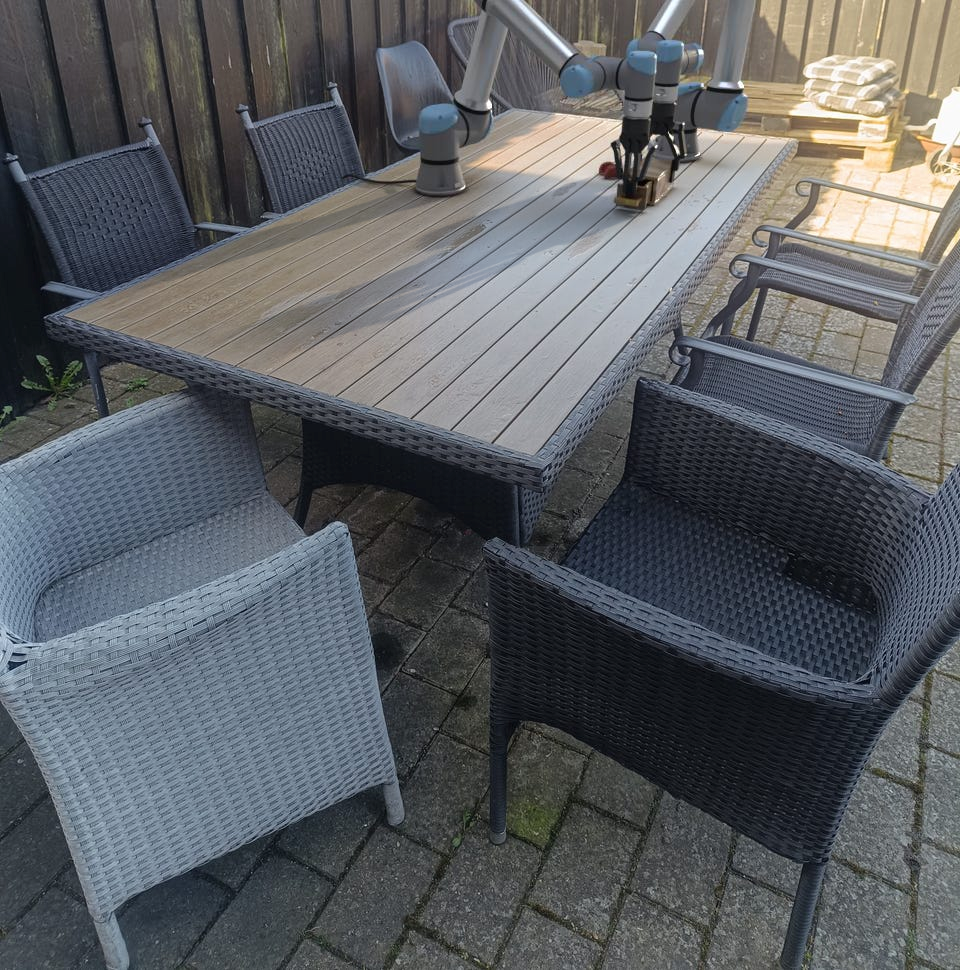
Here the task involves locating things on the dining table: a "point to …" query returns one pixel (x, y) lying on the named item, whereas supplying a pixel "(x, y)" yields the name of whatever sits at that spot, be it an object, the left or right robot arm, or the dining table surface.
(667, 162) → the cabinet
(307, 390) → the dining table surface
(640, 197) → the drawer
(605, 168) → the dental model
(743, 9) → the right robot arm
